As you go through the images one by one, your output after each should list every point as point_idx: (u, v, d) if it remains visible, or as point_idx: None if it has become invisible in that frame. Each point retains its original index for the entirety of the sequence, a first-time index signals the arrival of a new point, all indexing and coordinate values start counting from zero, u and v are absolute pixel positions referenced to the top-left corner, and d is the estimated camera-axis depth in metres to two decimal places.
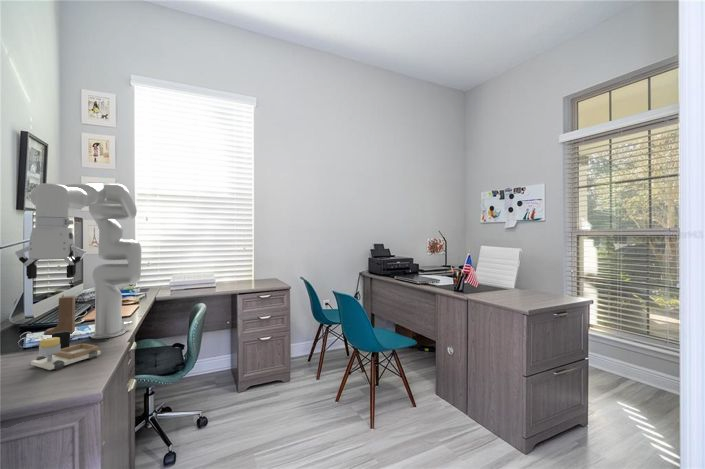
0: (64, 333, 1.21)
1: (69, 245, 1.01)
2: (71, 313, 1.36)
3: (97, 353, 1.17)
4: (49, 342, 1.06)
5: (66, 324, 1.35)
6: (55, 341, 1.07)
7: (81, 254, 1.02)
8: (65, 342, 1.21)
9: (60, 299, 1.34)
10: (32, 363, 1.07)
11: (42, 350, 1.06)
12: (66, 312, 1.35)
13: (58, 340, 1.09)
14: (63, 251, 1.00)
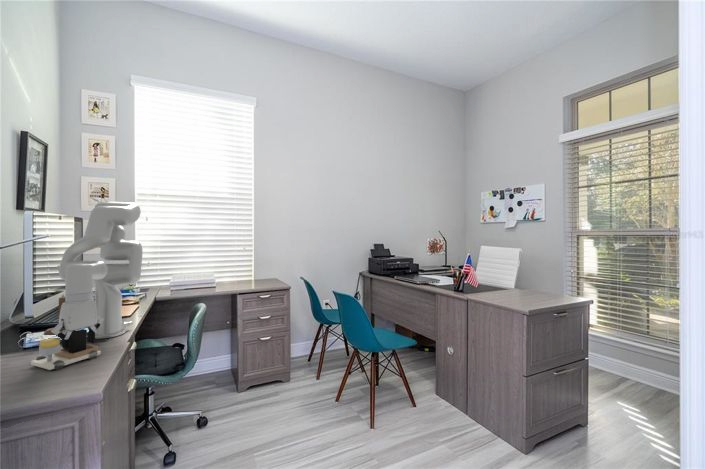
0: (81, 332, 1.15)
1: None
2: None
3: (97, 353, 1.17)
4: (49, 342, 1.06)
5: None
6: (55, 341, 1.07)
7: (101, 321, 1.23)
8: (82, 341, 1.16)
9: (60, 299, 1.34)
10: (32, 363, 1.07)
11: (42, 350, 1.06)
12: None
13: (58, 340, 1.09)
14: (94, 319, 1.19)
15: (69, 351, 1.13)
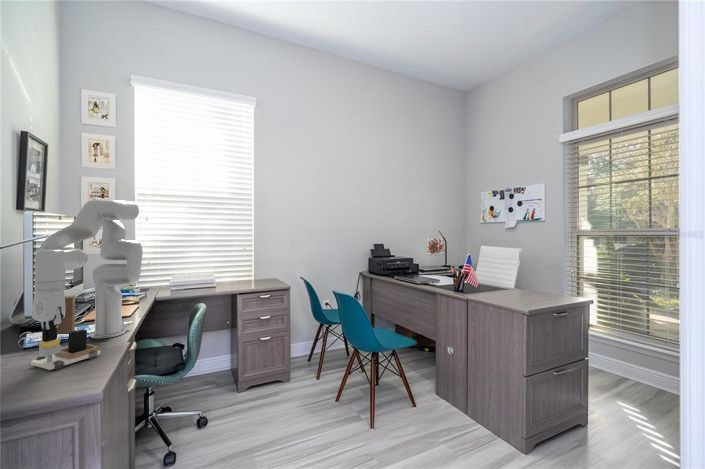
0: (81, 332, 1.16)
1: None
2: (71, 313, 1.36)
3: (97, 353, 1.17)
4: (49, 343, 1.06)
5: (66, 324, 1.35)
6: (55, 342, 1.07)
7: None
8: (82, 341, 1.16)
9: None
10: (32, 363, 1.07)
11: (42, 351, 1.06)
12: (66, 312, 1.35)
13: (58, 341, 1.09)
14: None
15: (69, 351, 1.13)
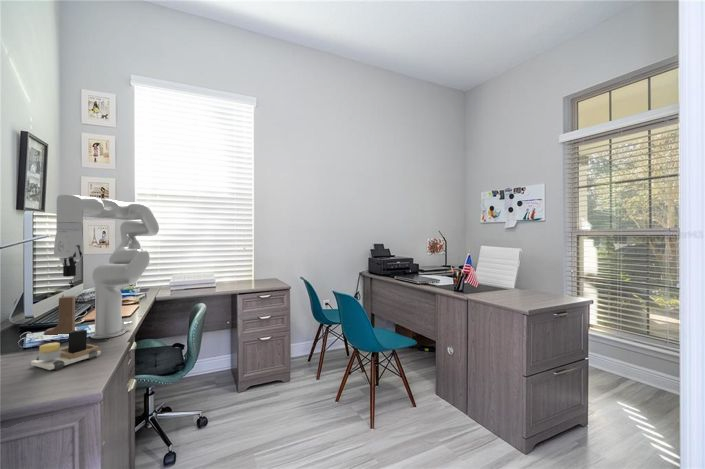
0: (81, 332, 1.16)
1: None
2: (71, 313, 1.36)
3: (97, 353, 1.17)
4: (49, 347, 1.06)
5: (66, 324, 1.35)
6: (55, 346, 1.07)
7: None
8: (82, 341, 1.16)
9: (60, 299, 1.34)
10: (32, 363, 1.07)
11: (42, 355, 1.06)
12: (66, 312, 1.35)
13: (58, 345, 1.09)
14: None
15: (69, 351, 1.13)
